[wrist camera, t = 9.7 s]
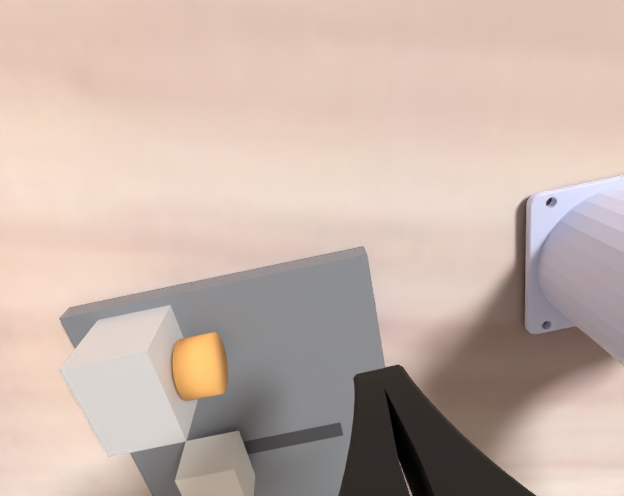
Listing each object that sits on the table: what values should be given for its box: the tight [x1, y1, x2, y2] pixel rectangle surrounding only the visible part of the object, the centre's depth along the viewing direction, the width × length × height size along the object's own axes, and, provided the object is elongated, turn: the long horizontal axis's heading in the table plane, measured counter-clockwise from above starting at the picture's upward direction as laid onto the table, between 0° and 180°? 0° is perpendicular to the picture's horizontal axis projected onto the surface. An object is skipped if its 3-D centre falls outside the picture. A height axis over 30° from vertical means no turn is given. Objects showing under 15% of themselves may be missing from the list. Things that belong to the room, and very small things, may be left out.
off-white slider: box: [175, 431, 255, 496], centre depth 22 cm, size 3×4×2 cm
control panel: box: [59, 247, 401, 496], centre depth 22 cm, size 15×21×5 cm
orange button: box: [173, 332, 228, 401], centre depth 18 cm, size 2×3×3 cm, turn 12°
